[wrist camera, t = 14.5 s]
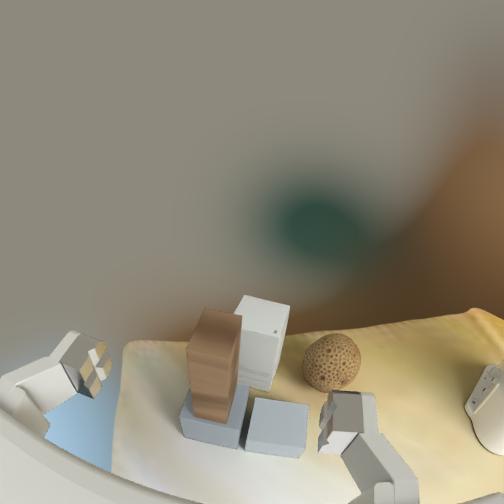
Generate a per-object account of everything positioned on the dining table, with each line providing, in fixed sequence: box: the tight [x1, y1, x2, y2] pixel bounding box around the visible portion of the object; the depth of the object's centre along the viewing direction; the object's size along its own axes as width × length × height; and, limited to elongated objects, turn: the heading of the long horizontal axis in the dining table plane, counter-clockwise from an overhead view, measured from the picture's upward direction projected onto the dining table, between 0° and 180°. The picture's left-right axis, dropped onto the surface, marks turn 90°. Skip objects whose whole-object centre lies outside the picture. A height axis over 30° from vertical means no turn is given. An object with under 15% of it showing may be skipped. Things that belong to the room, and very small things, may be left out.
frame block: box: [186, 308, 242, 424], centre depth 32 cm, size 6×4×13 cm
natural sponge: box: [303, 333, 361, 393], centre depth 44 cm, size 9×9×10 cm
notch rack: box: [179, 384, 309, 458], centre depth 36 cm, size 7×16×6 cm, turn 80°
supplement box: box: [233, 295, 290, 392], centre depth 45 cm, size 7×7×13 cm
